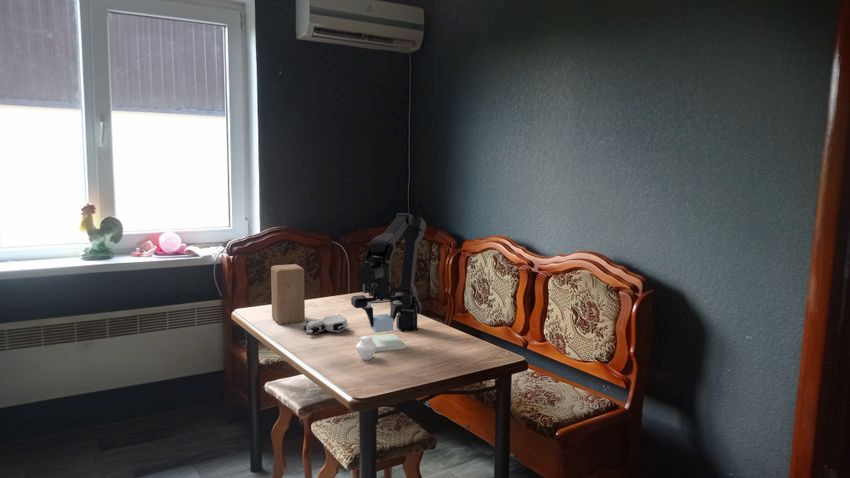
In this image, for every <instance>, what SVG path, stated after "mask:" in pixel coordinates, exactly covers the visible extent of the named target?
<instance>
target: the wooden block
mask: <svg viewBox="0 0 850 478" xmlns="http://www.w3.org/2000/svg"><path fill="white" fill-rule="evenodd" d="M270 282H271V289H270V290H271V316H272V317H271V318H272V319H273V320H274V321H275V322H276V323H277V324H278V325H285V324H294V323H304V321H305V320H306V313H305V305H306V304H305V303H306V302H305V269H304V268H303V267H302V266H300V265H298V264H295V263H293V264H278V265H276V264H275V265H273V266H271V267H270Z"/></svg>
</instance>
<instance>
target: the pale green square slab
mask: <svg viewBox="0 0 850 478" xmlns="http://www.w3.org/2000/svg"><path fill="white" fill-rule="evenodd" d="M369 336H370V337H371V338H372V341H373V342H374V343H375V344H376V346H377V348H376V350H375V353H376V352H384V351H393V350H394V351H395V350H405V349H406V344H405V342H404V341H402V340H401V339H400V338H399V337H398V336H397V335H396V334H395V333H387V334H375V335H374V334H373V335H369ZM362 337H363V336H358V343H359V342H360V340H361V338H362Z"/></svg>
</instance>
